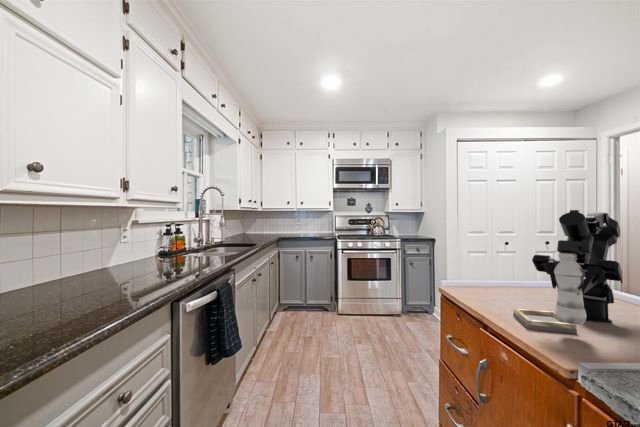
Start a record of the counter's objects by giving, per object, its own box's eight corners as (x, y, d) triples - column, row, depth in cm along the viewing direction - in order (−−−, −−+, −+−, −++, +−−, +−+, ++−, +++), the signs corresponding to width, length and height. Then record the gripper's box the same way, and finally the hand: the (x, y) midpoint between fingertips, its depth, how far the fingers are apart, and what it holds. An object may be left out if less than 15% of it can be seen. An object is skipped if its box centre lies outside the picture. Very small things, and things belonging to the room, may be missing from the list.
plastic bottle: (549, 318, 80) (546, 251, 80) (572, 318, 79) (569, 251, 80) (569, 327, 73) (565, 254, 74) (594, 327, 73) (590, 254, 73)
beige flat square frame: (555, 318, 89) (555, 311, 89) (576, 333, 78) (576, 325, 78) (513, 315, 93) (513, 308, 93) (527, 328, 82) (527, 320, 82)
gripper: (533, 229, 87) (519, 267, 81) (617, 231, 71) (609, 278, 65) (543, 251, 91) (531, 289, 85) (625, 257, 75) (618, 304, 69)
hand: (567, 290), depth 76 cm, fingers closed on plastic bottle, 6 cm apart
